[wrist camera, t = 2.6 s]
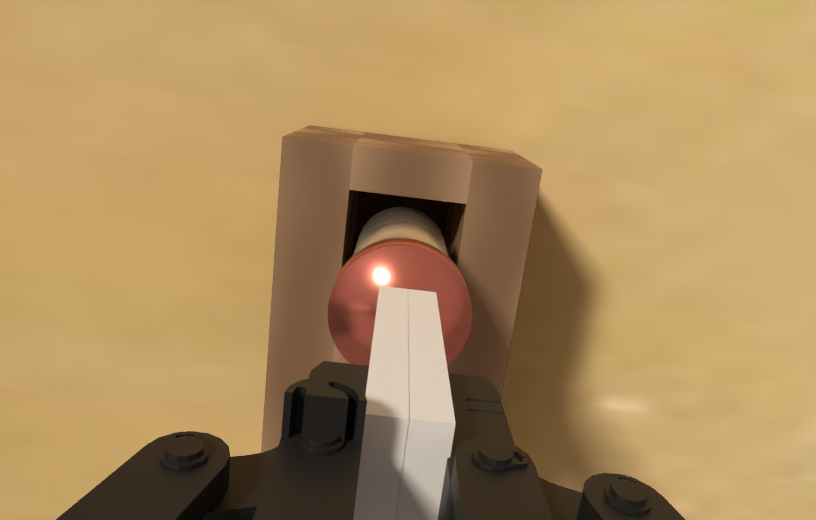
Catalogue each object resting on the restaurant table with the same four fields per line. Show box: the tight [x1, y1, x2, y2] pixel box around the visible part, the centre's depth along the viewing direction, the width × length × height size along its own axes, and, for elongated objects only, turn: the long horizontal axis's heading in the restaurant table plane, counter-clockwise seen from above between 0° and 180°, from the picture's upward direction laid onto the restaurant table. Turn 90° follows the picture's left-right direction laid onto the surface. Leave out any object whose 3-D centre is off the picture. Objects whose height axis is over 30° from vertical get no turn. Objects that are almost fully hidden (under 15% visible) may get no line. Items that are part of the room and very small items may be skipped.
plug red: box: [328, 207, 472, 366], centre depth 22 cm, size 4×4×8 cm
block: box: [261, 126, 542, 453], centre depth 29 cm, size 10×18×7 cm, turn 173°
